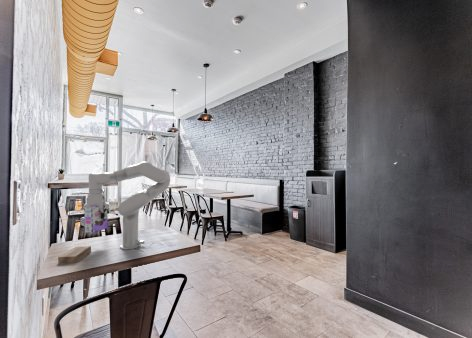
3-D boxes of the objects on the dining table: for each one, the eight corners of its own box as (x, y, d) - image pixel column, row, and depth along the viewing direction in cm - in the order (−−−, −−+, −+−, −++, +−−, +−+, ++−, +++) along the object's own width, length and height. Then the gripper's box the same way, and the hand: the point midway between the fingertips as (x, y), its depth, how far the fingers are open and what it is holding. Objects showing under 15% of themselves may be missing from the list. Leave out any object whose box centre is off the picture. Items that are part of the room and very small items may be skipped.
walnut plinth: (91, 252, 148) (91, 246, 148) (75, 263, 132) (75, 256, 132) (75, 253, 148) (75, 246, 148) (58, 264, 131) (58, 257, 131)
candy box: (92, 233, 149) (91, 207, 148) (84, 233, 150) (83, 207, 150) (108, 228, 162) (107, 204, 162) (100, 227, 163) (100, 203, 163)
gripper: (111, 190, 161) (112, 217, 161) (84, 191, 158) (84, 218, 158) (107, 192, 153) (108, 219, 153) (78, 192, 151) (79, 220, 151)
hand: (96, 218), depth 156 cm, fingers closed on candy box, 7 cm apart
